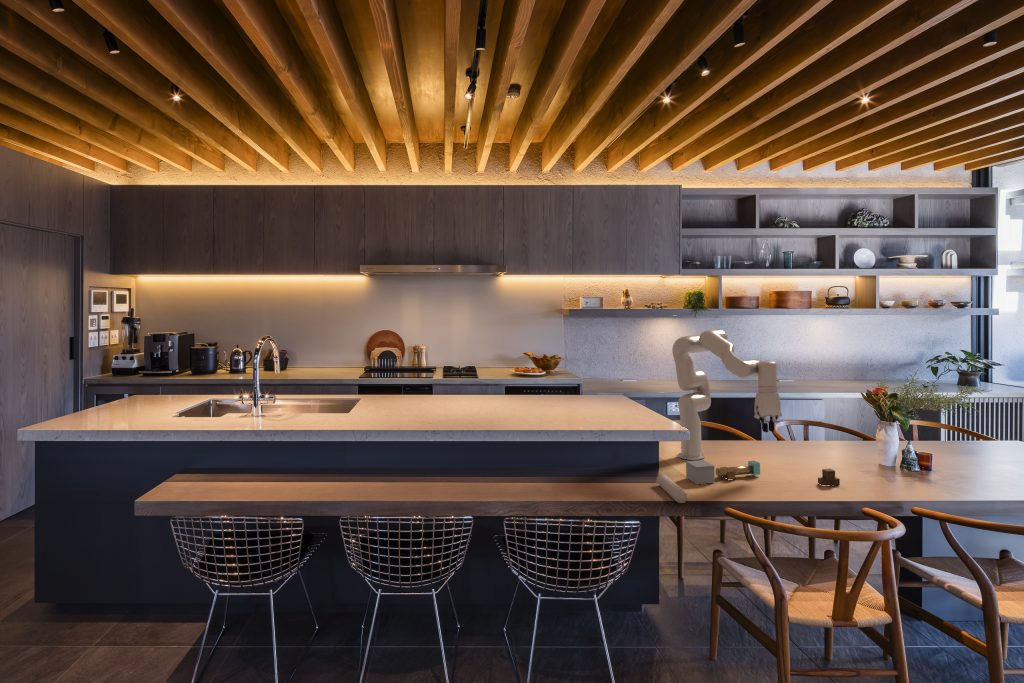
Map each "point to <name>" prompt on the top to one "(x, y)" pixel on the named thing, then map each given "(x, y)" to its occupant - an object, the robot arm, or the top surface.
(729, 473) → the guide block
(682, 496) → the tube
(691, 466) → the socket block
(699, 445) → the robot arm
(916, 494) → the top surface
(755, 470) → the bronze piece
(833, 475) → the wooden blocks
